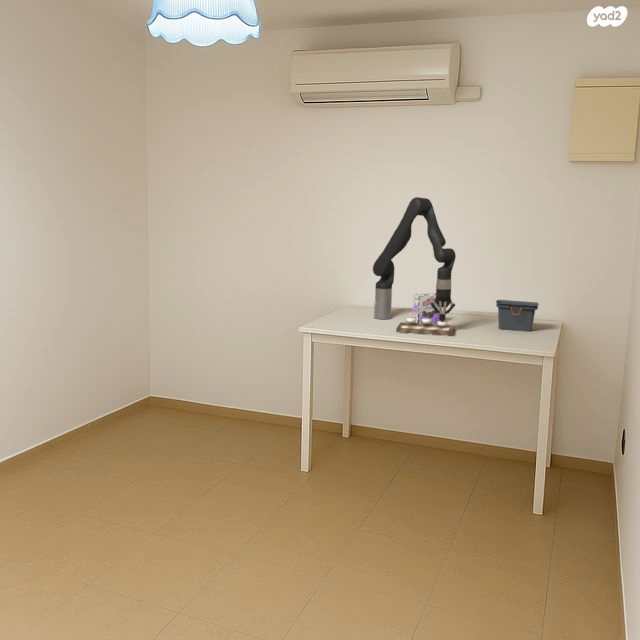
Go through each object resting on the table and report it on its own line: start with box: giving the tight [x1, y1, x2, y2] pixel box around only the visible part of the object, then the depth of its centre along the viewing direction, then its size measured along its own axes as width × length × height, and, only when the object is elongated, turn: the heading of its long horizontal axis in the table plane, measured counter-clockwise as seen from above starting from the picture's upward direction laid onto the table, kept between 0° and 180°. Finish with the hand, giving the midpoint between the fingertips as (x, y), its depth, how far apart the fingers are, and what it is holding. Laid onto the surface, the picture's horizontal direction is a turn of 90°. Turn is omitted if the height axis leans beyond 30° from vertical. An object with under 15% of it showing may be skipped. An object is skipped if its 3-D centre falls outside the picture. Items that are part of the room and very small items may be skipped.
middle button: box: [422, 318, 431, 324], centre depth 347 cm, size 5×5×2 cm
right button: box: [436, 320, 448, 327], centre depth 345 cm, size 5×5×2 cm
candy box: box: [412, 292, 440, 324], centre depth 366 cm, size 14×6×16 cm, turn 112°
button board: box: [395, 322, 455, 337], centre depth 344 cm, size 28×16×3 cm, turn 76°
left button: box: [405, 316, 416, 323], centre depth 348 cm, size 5×5×2 cm
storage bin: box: [495, 299, 540, 332], centre depth 351 cm, size 21×16×14 cm
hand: (442, 321), depth 345 cm, fingers closed
